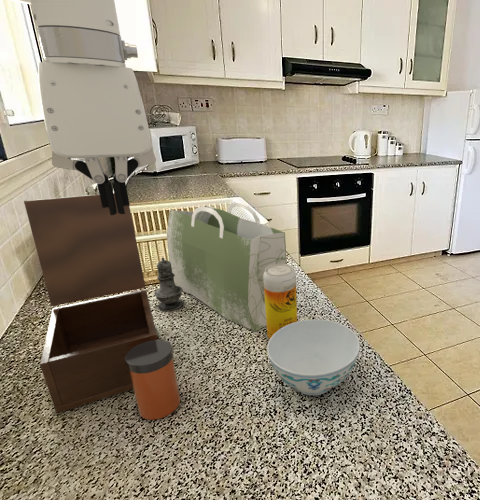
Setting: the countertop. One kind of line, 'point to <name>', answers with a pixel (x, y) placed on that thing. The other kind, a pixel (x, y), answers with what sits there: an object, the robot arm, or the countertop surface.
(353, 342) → the chinaware
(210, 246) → the grocery bag
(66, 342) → the chest
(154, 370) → the jar
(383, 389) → the countertop surface
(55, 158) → the robot arm
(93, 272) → the chest lid
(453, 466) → the countertop surface
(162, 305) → the grey chess piece
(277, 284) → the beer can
